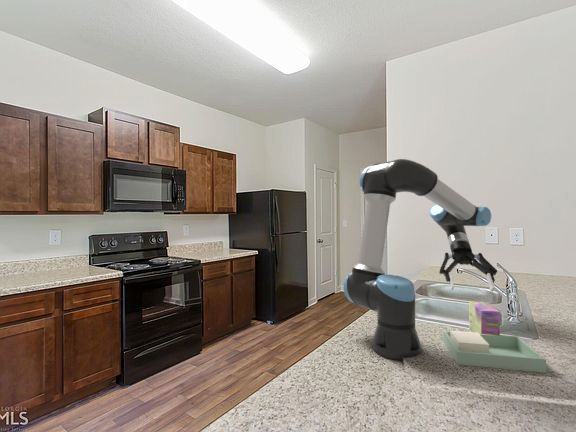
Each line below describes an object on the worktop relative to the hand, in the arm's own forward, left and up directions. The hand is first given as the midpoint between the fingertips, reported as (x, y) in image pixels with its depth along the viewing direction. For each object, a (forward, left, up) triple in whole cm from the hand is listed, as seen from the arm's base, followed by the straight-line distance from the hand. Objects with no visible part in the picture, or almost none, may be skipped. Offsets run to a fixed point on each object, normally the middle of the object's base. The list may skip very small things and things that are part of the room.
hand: (472, 289), depth 114 cm
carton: (-9, -25, -14) cm, 30 cm away
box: (0, -11, -15) cm, 19 cm away
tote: (-4, -25, -15) cm, 30 cm away
